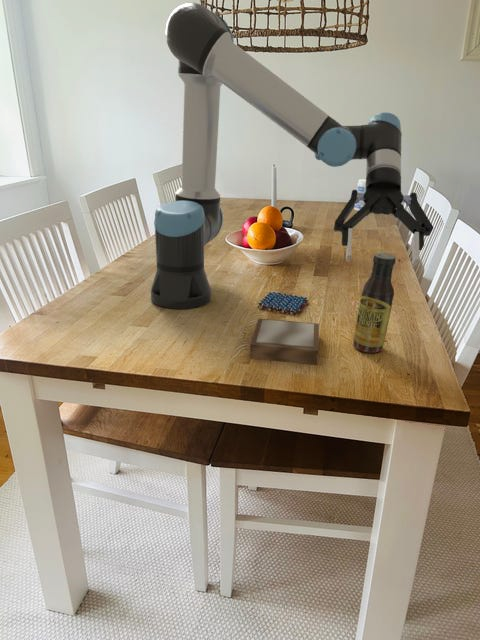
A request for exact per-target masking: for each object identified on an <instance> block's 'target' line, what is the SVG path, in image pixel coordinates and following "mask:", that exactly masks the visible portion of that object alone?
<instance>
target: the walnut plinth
mask: <svg viewBox="0 0 480 640" xmlns="http://www.w3.org/2000/svg"><path fill="white" fill-rule="evenodd" d="M256 322H257V323H256V326H255V328H254V331H253V335H252V339H251V342H250V347H249V359H255V360H265V361H266V360H267V361H275V362H287V363H295V364H296V363H298V364H305V365H306V364H307V365H315V366H316V365H318V360H319V359H318V358H319V357H318V356H319V337H320V335H319V334H320V333H319V332H320V331H319V329H320V323H316V322H315V323H314V322H304V321H294V320H293V321H291V320H282V319H270V318H269V319H268V318H258V319H257V321H256Z"/></svg>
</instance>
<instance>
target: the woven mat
mask: <svg viewBox="0 0 480 640" xmlns="http://www.w3.org/2000/svg"><path fill="white" fill-rule="evenodd" d="M308 303H309V300H308V297H304V296H300V295H296V294H295V295H293V294H286V293H282V292H275V291H272V292H268V294H266V296H264V297H263V298H262V300H260V302H258V303H257V304H258V306H257V308H258V310H263V309H264V311H267V310H268V312H271V311H272V312H274V313H275V312H276V314H277V313H278V314H280V313H281V314H286V315H288V314H290V316H293V315H294V314H295V316H299V314H301V313H303V312H302V311H303V310H304V307H306V306H307V304H308Z"/></svg>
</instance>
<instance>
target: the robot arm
mask: <svg viewBox="0 0 480 640" xmlns="http://www.w3.org/2000/svg"><path fill="white" fill-rule="evenodd" d="M165 40H166V45H167V46H168V48H169V51H170V52H171V54H172V55H173V56H174V58H175V59H177V60H178V67H177V75H178V76H179V78H180V79H181V81H182V82H183V84H184V85H183V86H184V89H183V90H184V92H183V123H182V124H183V125H182V126H183V128H182V129H183V131H182V157H181V158H182V161H181V162H182V164H181V166H182V167H181V169H182V170H181V172H182V173H181V186H180V187H179V188H178V189H177V190H176V191H175V200H173V201H170V202H165V203H162V204H160V205H159V206H158V207H156V210H155V212H154V222H153V224H154V234H155V235H154V236H155V254H156V255H155V256H156V260H155V261H156V271H155V274H154V277H153V281H152V284H151V288H150V300H151V302H152V303H153V304H155V305H156V306H160V307H162V308H167V309H173V310H174V309H175V310H178V309H179V310H183V309H184V310H185V309H193V308H197V307H201V306H204V305H207V304H208V303H210V301H211V300H212V289H211V286H210V283H209V279H208V277H207V274H206V271H205V246H206V245H207V244H209V242H212V241H213V240H215V238H217V236H218V235H219V233H220V231H221V229H222V227H223V221H224V216H223V210H222V208H221V194H220V193H219V191H217V189H216V179H217V178H216V175H217V174H216V173H217V160H218V159H217V157H218V140H219V139H218V137H219V117H220V116H219V115H220V102H221V99H220V98H221V86H222V85H224V86H225V87H226V88H228V89H229V90H231V91H232V92H233V93H234V94H236V95H237V96H239V98H241V99H243V100H244V101H245V102H246V103H248V104H249V105H251V107H253V108H255V109H256V110H257V111H259V112H260V113H261V114H263V116H265V117H266V118H268V119H269V120H270V121H272V122H274V124H276V125H277V126H279V127H280V128H281V129H283V130H284V131H285V132H286V133H288V134H289V135H291V136H292V137H293V138H295V139H296V140H297V141H299V142H300V143H301V144H303V145H304V146H305V147H307V149H309V150H310V151H311V152H313V154H314V158H315V159H316V160H317V161H322V162H323V163H324V164H325V165H327V166H329V167H334V168H335V167H337V168H338V167H342V166H344V165H346V164H347V163H348V162H350V161H351V160H353V161H355V160H366V168H365V171H366V173H365V175H366V178H365V179H366V192H365V193H364V194H363V193H358V191H357V189H352V190H351V195H350V198H349V200H348V201H347V203H346V204H345V205H344V208H343V209H342V211H341V212H340V214H339V215H338V216H337V218H336V219H335V221H334V224H333V231H335V232H338V231H339V232H340V233H341V246H343V247H345V246H346V249H345V251H346V253H345V254H346V255H345V262H347V263H348V262H350V260H351V257H352V242H353V241H352V239H353V229H354V227H356V226H357V225H358V224H359V223H360V222H361V221H362V220H363V219H364V218H366V217H367V216H369V215H370V214H371V213H374V215H380V214H383V215H388V216H389V215H390V214H392V215H393V216H394V218H397V219H399V221H400V222H401V223H402V225H404V226H405V227H406V228H407V229H408V230H409V231H410V232H411V233H412V234H413V236H412V238H411V252H412V258H411V259H412V260H411V261H412V262H411V265H412V266H414V267H417V266H418V263H419V261H420V251H422V250H423V248H424V246H425V237H428V236H430V235H431V233H432V232H433V230H434V226H433V224H432V223H431V221H430V219H429V218H428V216H427V214H426V213H425V211H424V209H423V208H422V205H421V204H420V202H419V201H418V196H417V193H416V192H411V193H410V194H408V195H407V194H405V195H404V194H403V193H402V128H401V126H402V125H401V121H400V118H398V116H397V115H395V114H393V113H391V112H380V113H379V114H376V115H373V116H372V117H371V118H370V119H369V120H368V122H367V124H362V125H342V124H340V123H339V122H338V121H337V120H336V119H334V118H333V117H331V116H330V115H329V114H327V113H326V112H325V111H323V110H322V109H321V108H320V107H319V106H317V105H315V103H313V102H312V101H311V100H309V99H308V98H306V97H305V96H304V95H302V94H301V93H300V92H298V90H297V89H295V88H294V87H292V86H291V85H290V84H288V83H287V82H285V81H284V80H283V79H282V78H281V77H279V76H278V75H277V74H275V73H273V71H271V70H270V69H269V68H267V67H266V66H264V65H263V64H262V62H259V61H258V60H257V59H256V58H254V57H253V56H251V54H249V53H247V52H246V51H245V50H244V49H243V48H241V47H240V46H239V45H237V44H236V43H235V42H234V35H233V33H232V30H231V28H230V26H229V25H228V23H227V22H226V20H225V19H224V18H223V17H222V16H221V15H219V14H218V13H215V12H214V11H212V10H210V9H209V8H208V7H206V6H204V5H202V4H200V3H196V2H187V3H183V4H181V5H179V6H177V7H176V8H174V10H173V11H172V12H171V13H170V15H169V17H168V19H167V22H166V25H165ZM360 200H363V201H364V203H365V205H364V206H363V207H362V208H361V209H360V210H359V211H356V212H355V214H353V215H352V216H351V217H349V215H350V214H351V213H352V211H353V209H354V208H355V203H356V204H357V203H359V201H360ZM402 203H404V204H405V205H406V207H409V210H410V212H411V213H410V212H408V210H407V209H406V208H405V205H404V204H402ZM348 217H349V219H347V218H348Z"/></svg>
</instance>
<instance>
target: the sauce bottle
mask: <svg viewBox="0 0 480 640" xmlns="http://www.w3.org/2000/svg"><path fill="white" fill-rule="evenodd" d="M396 260H397V257H396V256H395V255H393V254H390V253H387V252H377V253H374V255H373V259H372V262H373V264H372V269H371V275H370V277H369V278H368V279H367V281H366V282H365V284H364V285H363V289H362V293H361V295H360V301H359V306H358V311H357V316H356V322H355V327H354V332H353V347H354V348H355V349H356V350H357V351H361V352H364V353H367V354H368V353H369V354H376V353H379V352H381V351H382V349H383V348H384V345H385V343H386V342H385V341H386V336H387V333H388V326H389V323H390V315H391V312H392V307H393V300H394V296H395V289H394V286H393V283H392V273H393V270H394V265H395V264H396Z"/></svg>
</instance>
